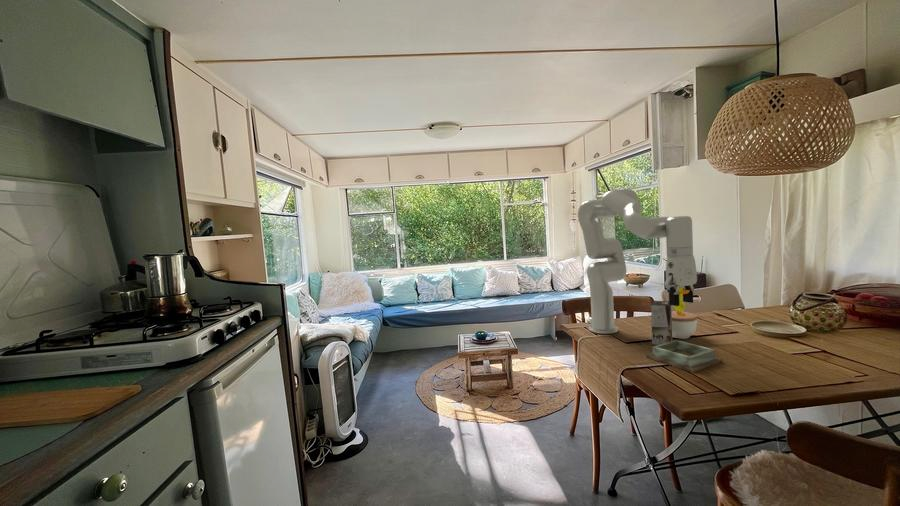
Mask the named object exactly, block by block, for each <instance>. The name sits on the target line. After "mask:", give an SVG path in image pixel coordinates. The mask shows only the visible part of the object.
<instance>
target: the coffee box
mask: <svg viewBox="0 0 900 506" xmlns="http://www.w3.org/2000/svg"><path fill="white" fill-rule="evenodd" d="M650 309H651V311H650V312H651V313H650V317H651V343H652V345H654V346H657V345H660V344H663V343H667V342H670V341H673V337H672V313H671V311H672V305H670V304H669V300H653V301H652V303H651V304H650Z"/></svg>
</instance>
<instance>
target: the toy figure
mask: <svg viewBox="0 0 900 506" xmlns="http://www.w3.org/2000/svg"><path fill="white" fill-rule="evenodd" d="M675 285H676V284H675ZM689 291H690V290H684V288H683V287H679V290H678V294H679V306H674V305H673V307H674V310H675V311H678V314H677V315H678V316H685V314H683V313H682V312H684V310H685V309H686V304H685V303H686V302H684V301H683V294H687V293H689ZM679 312H681V313H679Z"/></svg>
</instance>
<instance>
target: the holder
mask: <svg viewBox="0 0 900 506" xmlns="http://www.w3.org/2000/svg"><path fill="white" fill-rule="evenodd" d="M716 355H717V353H716V349H715V348H714V349H713V348H710V347H706V346H702V345H698V344H694V343H690V342H687V341H683V340H678V339H675V340H673V339H672V341H670V342H667V343H663V344H660V345H654V346H651V352H650V353H648V354H646V356H645V357H646V358H647V359H650V360H654V361H656V362H659V363H662V362H663V363H662V364H665V363H666V364H665V365H668V364H669V365H668V366H671V365H672V366H671V367H674V368H677V369H680V370H684V371H687V372H690V373H692V374H693V373H696V372H698V371H701V370H703V369H706V367H707V368H709V367H712V366H714V364H715V365H717V364H720V363H722V362H723V358H720V357H716ZM711 365H712V366H711Z"/></svg>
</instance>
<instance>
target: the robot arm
mask: <svg viewBox="0 0 900 506" xmlns="http://www.w3.org/2000/svg"><path fill="white" fill-rule="evenodd" d="M577 210H578V211H577V219H578V222H579V226H580V228H581V230H582V236H583V240H584V245H585V246H584V247H585V251H586V255H587V257H588V258H589V259H591V260H603V259H606V260H605V261H597V262H593V263H590V264H589V265H588V267H587V268H586V276H587V279H588V284H589V292H590V293H589V295H590V297H589V298H590V310H591V313H590V315H591V317H588V318H587V319H586V323H589V325H588V331H590V333H591V332H592V333H594V334H595V333H596V334H603V335H607V334H608V335H609V334H610V335H611V334H615V333H617V332H619V327H618V326H617V325H615V310H614V293H613V289H612V288H611V286H610V284H609V283H610V282H611V283H612V282H619V281H622V280H624V279H625V278H626V275H627V264H626V261H625V260H626V259H625V255H624V250H623V246H622V244H621V242H620V241H619V240H618V239H617V238H615V237H605V235H604V231H603V228H602V226H601V224H600V223H599V222H598V221H597V220H596V219H604V218H605V219H607V218H613V217H619V218H621V219H623V220H622V221H623V224H624V227H625V228H626V229H627V231H629V232H630V233H631V234H633V235H635V236H637V237H638V238H641V239H645V240H647V239H648V240H651V239H661V238H666V239H665V240H666V243H665V244H666V265H665V281H664V283H663V286H664V287H665V290H666V291H667V294H668V301H669V304H670V305H671V306H673V307H674V306H679V294H678V290H679V287H683V290H690V291H689V293H687V294H683V295H682V301H683V302H684V303H689V304H693V303H694V290H695V285H696V283H697V282H698V274H697V273H698V272H697V266H696V260H695V256H694V242H693V241H694V239H693V236H694V235H693V219H692V218H691V216H689V215H683V216H682V215H681V216H655V217H645V216H643V215H641V213H642V210H643V205H642V203H641V202H640V201H639V196H638V194H637V193H636V191H634V190H632V189H611V190H609V191H607V192H605V193H604V194H603V195H602V198H601V199H598V198H597V199H590V200H585V201H584V202H581V204H580V205H579V207H578V209H577ZM675 284H676V285H675ZM674 288H675V289H674Z"/></svg>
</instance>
